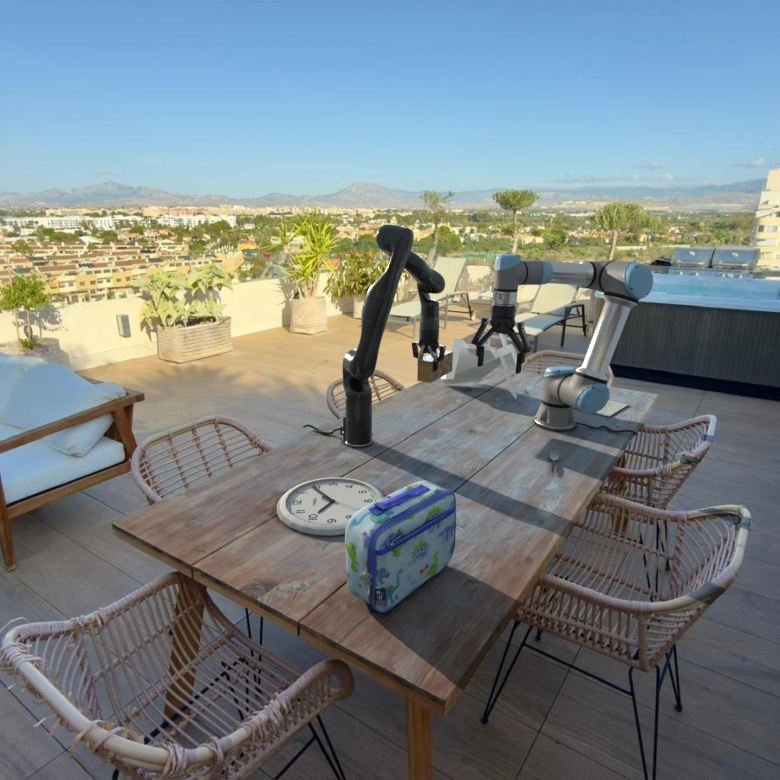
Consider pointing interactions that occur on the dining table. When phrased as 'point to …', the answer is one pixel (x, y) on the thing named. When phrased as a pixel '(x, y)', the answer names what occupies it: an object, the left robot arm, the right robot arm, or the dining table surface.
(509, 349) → the white plastic object
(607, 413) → the invitation card
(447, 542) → the lunch box
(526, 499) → the dining table surface
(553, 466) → the fork
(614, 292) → the right robot arm
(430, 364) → the box
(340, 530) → the wall clock
